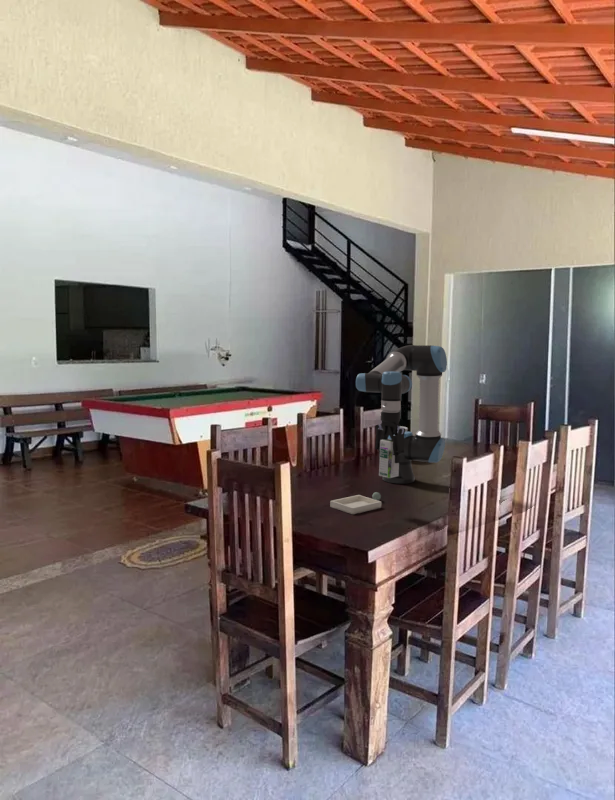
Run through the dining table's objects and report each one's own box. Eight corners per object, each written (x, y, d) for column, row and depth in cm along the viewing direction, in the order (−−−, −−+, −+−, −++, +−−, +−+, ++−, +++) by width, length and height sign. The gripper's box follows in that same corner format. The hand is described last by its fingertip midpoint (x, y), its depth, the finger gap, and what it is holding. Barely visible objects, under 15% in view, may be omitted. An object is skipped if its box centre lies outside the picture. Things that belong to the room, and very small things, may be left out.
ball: (376, 499, 265) (376, 490, 265) (382, 500, 262) (382, 492, 262) (370, 500, 263) (370, 492, 262) (376, 502, 260) (376, 493, 259)
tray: (358, 500, 262) (358, 494, 262) (381, 507, 252) (381, 501, 252) (330, 506, 252) (330, 500, 251) (352, 514, 242) (352, 508, 242)
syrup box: (378, 475, 247) (379, 439, 245) (388, 473, 251) (389, 438, 249) (389, 478, 243) (390, 441, 241) (399, 476, 247) (400, 440, 245)
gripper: (366, 409, 248) (365, 466, 251) (402, 414, 234) (400, 475, 237) (379, 407, 253) (378, 464, 256) (415, 413, 239) (413, 472, 242)
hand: (388, 469), depth 246 cm, fingers closed on syrup box, 6 cm apart
